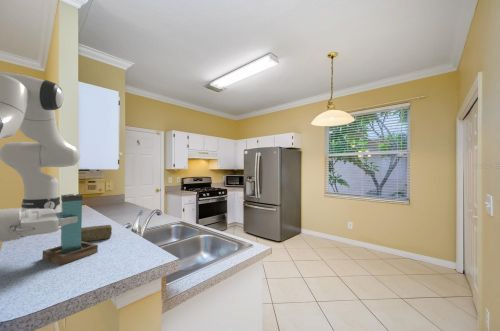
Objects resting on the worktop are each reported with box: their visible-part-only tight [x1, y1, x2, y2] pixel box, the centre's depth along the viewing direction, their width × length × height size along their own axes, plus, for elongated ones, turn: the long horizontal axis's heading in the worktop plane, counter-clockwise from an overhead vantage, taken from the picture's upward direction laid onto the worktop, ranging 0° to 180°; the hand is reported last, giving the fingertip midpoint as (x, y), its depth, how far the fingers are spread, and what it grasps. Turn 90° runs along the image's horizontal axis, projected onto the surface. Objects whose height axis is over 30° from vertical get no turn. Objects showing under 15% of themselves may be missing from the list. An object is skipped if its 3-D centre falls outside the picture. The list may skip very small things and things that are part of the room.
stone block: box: [81, 224, 113, 243], centre depth 83 cm, size 6×12×5 cm, turn 121°
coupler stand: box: [42, 241, 99, 266], centre depth 68 cm, size 10×10×2 cm
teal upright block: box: [60, 193, 83, 254], centre depth 68 cm, size 5×5×18 cm
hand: (75, 216), depth 69 cm, fingers open, 8 cm apart
